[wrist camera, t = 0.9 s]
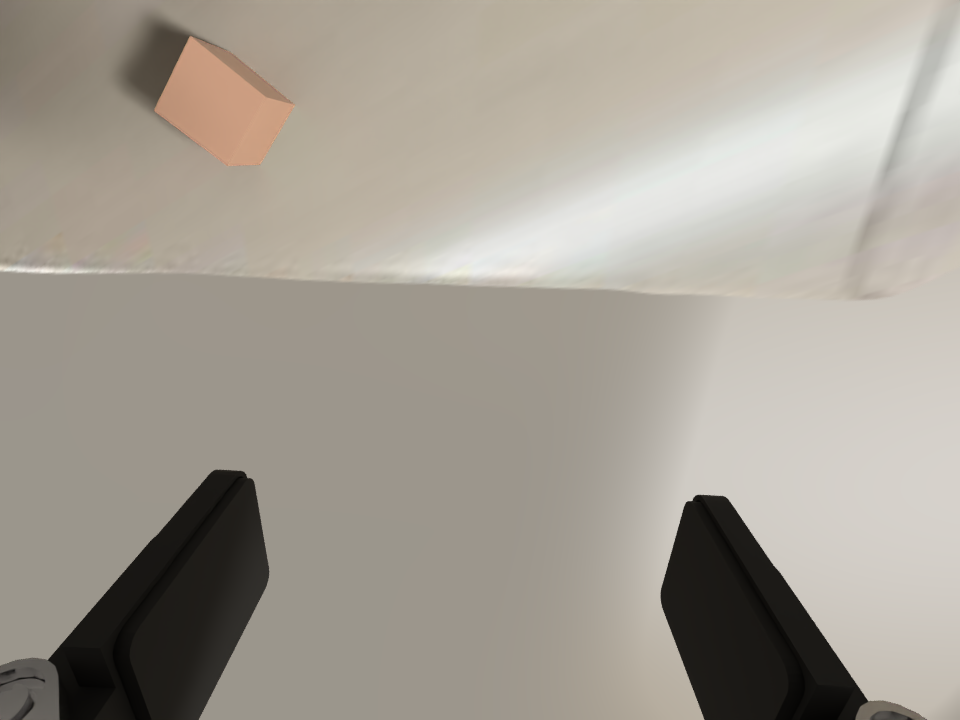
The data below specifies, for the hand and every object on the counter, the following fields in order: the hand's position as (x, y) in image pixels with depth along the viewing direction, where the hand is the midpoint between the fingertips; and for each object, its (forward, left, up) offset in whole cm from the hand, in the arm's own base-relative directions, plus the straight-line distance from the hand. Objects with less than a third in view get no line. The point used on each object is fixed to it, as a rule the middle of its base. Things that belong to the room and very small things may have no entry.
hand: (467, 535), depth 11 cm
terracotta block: (+10, -17, -30) cm, 36 cm away
